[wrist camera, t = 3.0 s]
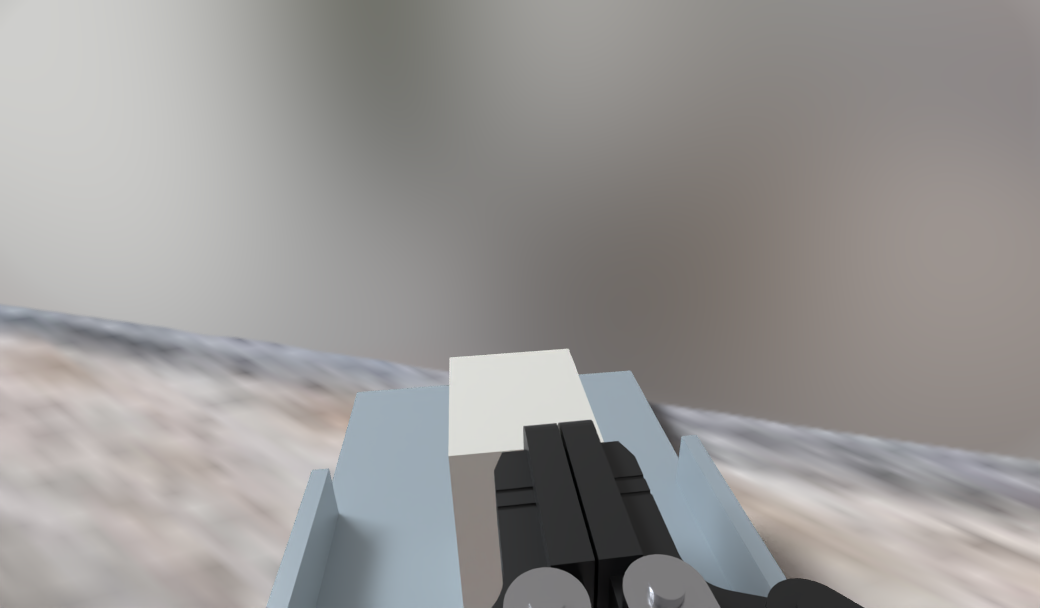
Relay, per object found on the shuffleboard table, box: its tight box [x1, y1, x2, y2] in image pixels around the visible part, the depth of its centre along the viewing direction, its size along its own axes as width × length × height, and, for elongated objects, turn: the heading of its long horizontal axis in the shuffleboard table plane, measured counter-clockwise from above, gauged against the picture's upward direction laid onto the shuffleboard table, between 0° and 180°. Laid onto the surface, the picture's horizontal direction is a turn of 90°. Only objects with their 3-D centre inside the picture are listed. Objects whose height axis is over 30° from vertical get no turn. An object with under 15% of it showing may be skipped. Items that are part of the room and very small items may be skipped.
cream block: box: [448, 349, 604, 608], centre depth 22 cm, size 6×5×10 cm
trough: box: [266, 371, 786, 608], centre depth 25 cm, size 30×20×5 cm, turn 6°
